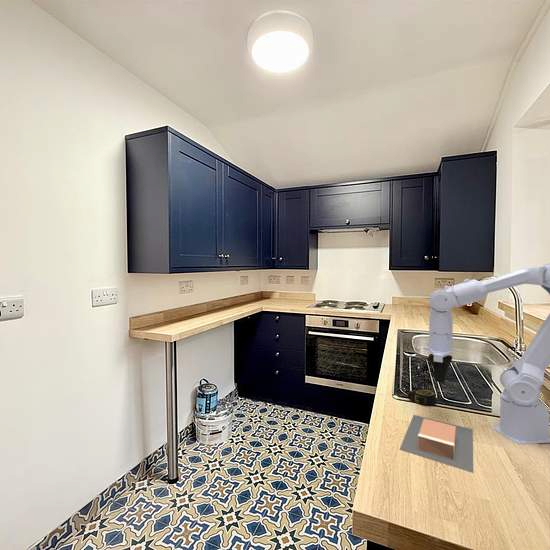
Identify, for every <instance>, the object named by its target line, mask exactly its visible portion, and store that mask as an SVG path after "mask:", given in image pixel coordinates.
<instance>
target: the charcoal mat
mask: <svg viewBox="0 0 550 550" xmlns="http://www.w3.org/2000/svg"><path fill="white" fill-rule="evenodd" d="M424 419H428V420H432V421H436V422H440V423H444V424H448V425H452V426H456V440H455V452H454V460H451V459H448V458H445V457H442V456H438V455H435V454H432V453H428V452H425V451H422V450H419V449H418V434H419V432H420V429H421V426H422V423H423V420H424ZM473 430H474V429H472V428H469V427H465V426H461V425H457V424H453V423H448V422H444V421H440V420H436V419H433V418H428V417H424V416H420V415H416V414H413V415H412V417H411V420H410V422H409V425H408V427H407V430H406V433H405V435H404V438H403V440H402V442H401V444H400V448H399V451H403V452H406V453H408V454H411V455H416V456H418V457H422V458H425V459H428V460H430V461H434V462H438V463H441V464H443V465H446V466H450V467H453V468H456V469H460V470H463V471H466V472H469V473H472V474H473V473H474V431H473Z"/></svg>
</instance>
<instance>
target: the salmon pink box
mask: <svg viewBox="0 0 550 550" xmlns="http://www.w3.org/2000/svg"><path fill="white" fill-rule="evenodd" d="M455 440H456V426H452V425H448V424H444V423H440V422H436V421H432V420H428V419H424V420H423V423H422V426H421V429H420V432H419V434H418V449H419V450H422V451H425V452H428V453H432V454H435V455H438V456H442V457H445V458H448V459H451V460H454V452H455Z"/></svg>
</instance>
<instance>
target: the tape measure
mask: <svg viewBox="0 0 550 550" xmlns="http://www.w3.org/2000/svg"><path fill="white" fill-rule="evenodd" d="M407 398H408V399H409V401H411V402H415V403H416V404H418V405H421V406H429V407H430V406H434V405H435V404H436V403H437V394H436V393H435V392H434V391H433V390H430V389H424V388H418V389H414V390H411V391H410V392H408V393H407Z"/></svg>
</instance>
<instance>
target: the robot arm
mask: <svg viewBox="0 0 550 550" xmlns="http://www.w3.org/2000/svg"><path fill="white" fill-rule="evenodd" d="M521 285H533V286H540V287H541V288H542V289H543V290H545V291H546V292H547V293H548V294H549V296H550V263H545V264H543V265H537V266H531V267H525V268H521V269H518V270H515V271H512V272H509V273H505V274H502V275H500V276H497V277H494V278H490V279H487V280H483V281H480V280H477V279H474V278H473V279H469V278H466V279H464V280H463V282H461V283H458V284H455V285H451V286H449V285H445V286H444V289H437V290H434V291H433V292H431V294H430V295H429V299H428V302H429V306H430V309H429V314H430V315H429V316H428V318H429V319H428V321H429V322H428V346H427V345H425V346H424V347H423V348H424V349H423V350H425V351H428V352H429V353H430V354H428V356H427V357H428V361H429V362H430V364H431V366H432V370H433V375H434V380H435V382H436V383H442V384H445V381H446V378H447V373H448V368H449V367H450V364H451V363H452V361H453V356H452V355H453V354H454V349H453V333H454V332H453V322H454V321H453V320H454V319H453V316H452V312H453V310H452V309H453V307H457V308H458V307H462V306H465V305H469V304H473V303H476V302H480V301H483V300H484V299H485V298H486V295H487V294H490V293H493V292H497V291H501V290H506V289H510V288H513V287H518V286H521ZM549 366H550V313H549V314H548V315H547V317H546V318H545V320H544V321H543V322H542V325H540V328H539V329H538V330H537V332H536V334H535V335H534V337H533V338H532V340H531V341H530V343H529V344H528V346H527V347H526V349H525V350H524V352H523V353H522V355H521V357H520V358H519V359H517V360H515V361H514V362H513V363H512V365H511V366H510V367H508V368H507V369H504V370H503V371H502V372H501V373H500V375H499V381H500V384H501V386H502V387H503V388H504V389H503V391H502V392H501V393H500V394H499V395H500V399H499V400H500V402H499V404H500V405H499V424H498V425H491V426H490V427H491V429H493V430H495V431H496V432H498V433H500V435H503V436H505V437H506V438H507V439H509V440H511V441H513V442H514V443H515V444H518V445H526V444H527V445H528V444H550V412H549V410H548V408H547V406H546V404H545V403H543V402H542V401H540V397H541V387H542V386H543V385H544V380H545V372H546V370H548V367H549Z"/></svg>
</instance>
